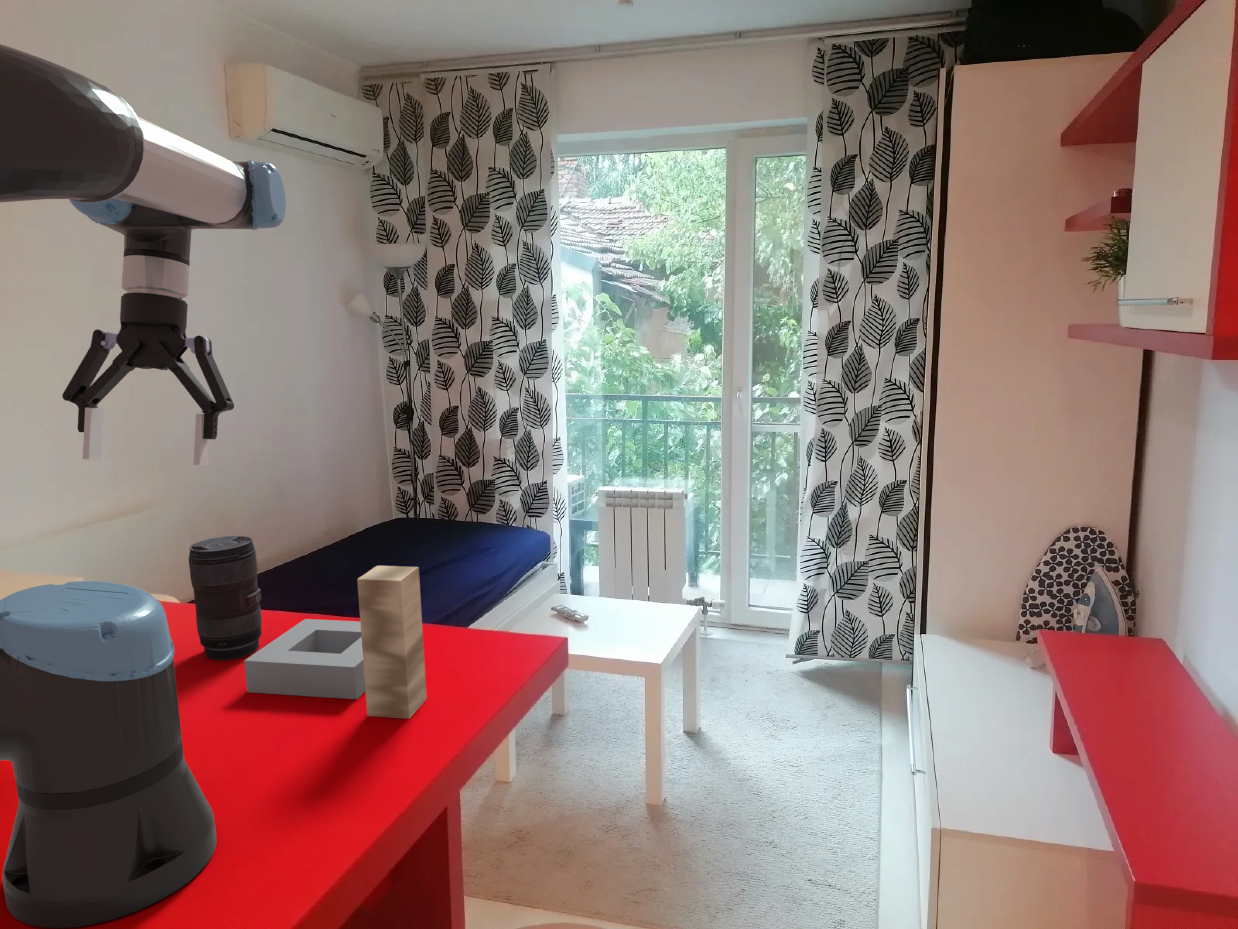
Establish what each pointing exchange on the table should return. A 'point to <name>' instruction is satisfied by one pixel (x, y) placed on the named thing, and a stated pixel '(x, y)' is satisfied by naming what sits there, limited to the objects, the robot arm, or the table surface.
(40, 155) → the robot arm
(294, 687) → the socket block
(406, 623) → the peg
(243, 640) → the camera lens
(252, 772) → the table surface
